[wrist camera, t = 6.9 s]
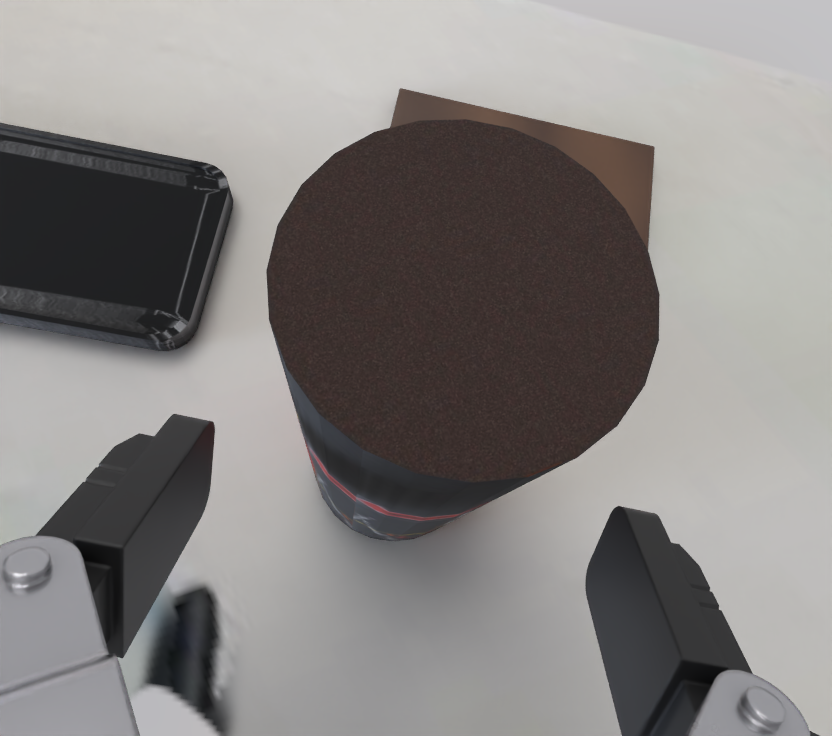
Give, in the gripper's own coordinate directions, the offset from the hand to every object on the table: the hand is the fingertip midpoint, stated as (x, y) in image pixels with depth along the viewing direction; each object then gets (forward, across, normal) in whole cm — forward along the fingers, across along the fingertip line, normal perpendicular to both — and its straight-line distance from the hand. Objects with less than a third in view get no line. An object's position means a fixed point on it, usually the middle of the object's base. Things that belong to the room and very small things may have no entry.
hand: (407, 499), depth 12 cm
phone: (+14, +16, +2) cm, 21 cm away
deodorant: (+10, 0, +6) cm, 11 cm away
